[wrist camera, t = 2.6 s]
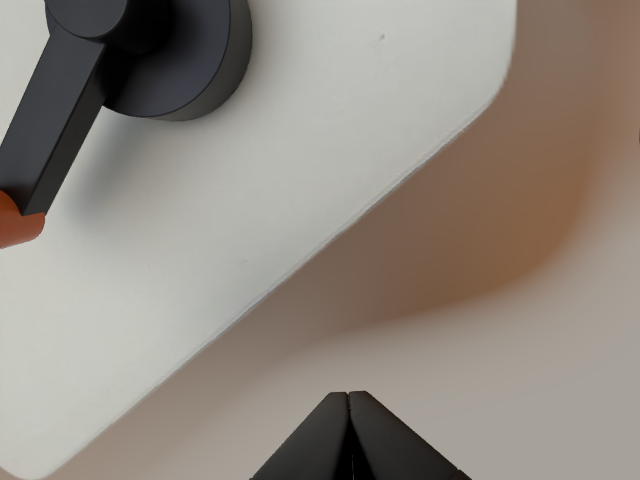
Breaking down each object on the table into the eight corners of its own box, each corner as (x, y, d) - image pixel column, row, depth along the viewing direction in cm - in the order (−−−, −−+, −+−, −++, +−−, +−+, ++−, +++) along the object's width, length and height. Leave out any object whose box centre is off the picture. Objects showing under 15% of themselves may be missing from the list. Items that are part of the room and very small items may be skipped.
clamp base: (242, -75, 18) (216, -118, 15) (261, 114, 19) (241, 109, 17) (78, -50, 19) (24, -85, 16) (109, 127, 21) (66, 124, 18)
